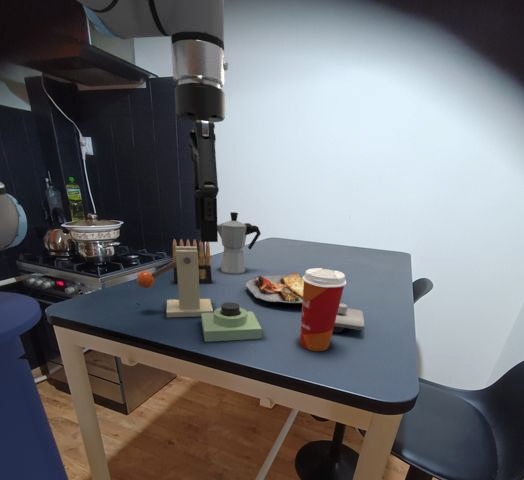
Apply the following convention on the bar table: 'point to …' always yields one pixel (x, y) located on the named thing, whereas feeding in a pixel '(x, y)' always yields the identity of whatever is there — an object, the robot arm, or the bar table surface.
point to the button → (230, 309)
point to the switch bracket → (188, 286)
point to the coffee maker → (235, 243)
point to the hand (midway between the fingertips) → (205, 235)
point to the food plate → (278, 288)
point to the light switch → (348, 319)
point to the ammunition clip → (203, 264)
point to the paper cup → (320, 307)
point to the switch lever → (153, 275)
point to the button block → (230, 326)
